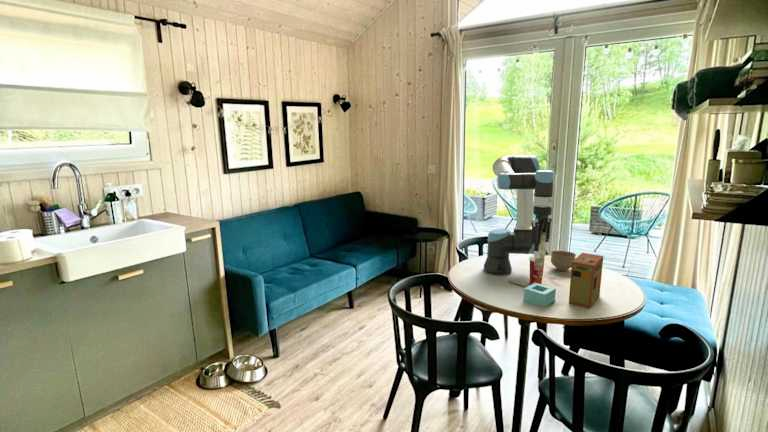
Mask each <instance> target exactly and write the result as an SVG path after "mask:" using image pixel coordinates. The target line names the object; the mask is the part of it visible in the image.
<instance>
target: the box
mask: <svg viewBox="0 0 768 432" xmlns="http://www.w3.org/2000/svg"><path fill="white" fill-rule="evenodd" d="M603 264H604V255H600V254H593V253H587V252H581V253H579V255H578V256H577V257H575V260H573V261H572V267H571V268H570V269H571V270H570V283H569V295H568V305H571V306H575V307H579V308H583V309H586V310H587V309H588V310H591V309H592V308H593V306H594V305H595V303H597V301H598V299H599V298H600V294H601V285H602V283H601V282H602V274H603Z"/></svg>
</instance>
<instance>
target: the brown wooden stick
mask: <svg viewBox="0 0 768 432" xmlns="http://www.w3.org/2000/svg"><path fill="white" fill-rule="evenodd" d="M507 282H508V283H509V284H513V285H515V286H519V287H522V288H526V287H528V286H529V285H526V284H522V283H519V282H514V281H511V280H508V281H507Z"/></svg>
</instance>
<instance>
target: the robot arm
mask: <svg viewBox="0 0 768 432" xmlns="http://www.w3.org/2000/svg"><path fill="white" fill-rule="evenodd" d="M492 172H493V173H494V175H495V176H496V177H497V178H496V185H497V189H499V190H505V191H507V190H516V226H515V227H514V228H513V232H512V231H511V229H508V228H497V229H493V230H490V231H489V233H488V234H487V235H488V236H487V252H486V253H487V255H486V256H487V257H486V259H485V262H484V264H483V272H485V273H487V274H490V275H492V276H506V275H510V274H511V273H513V272H512V270H513V268H512V264H511V261H510V254H519V255H521V254H523V255H534V258H539V259H540V253H541V244H540V240H541V234H542V231H543V232H546V238H545V255H544V258H545V257H546V256H547V253H546V252H547V243H549V242H550V238H551V237H550V236H551V224H552V220H553V219H552V218H551V217H550V216H551V215H552V209H553V207H552V205H553V201H554V200H553V193H554V180H555V177H554V175H555V173H554V171H553V170H548V169H545V170H544V169H541V168H540V161H539V158H538V157H537V156H536V155H534V154H532V155H531V154H516V155H515V154H514V155H513V154H512V155H510V154H507V155H504V156H501V157H498V158H497V159H496V160H495V161H494V163H493V164H492ZM534 215H535V218H534Z"/></svg>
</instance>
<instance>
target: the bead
mask: <svg viewBox="0 0 768 432" xmlns="http://www.w3.org/2000/svg"><path fill="white" fill-rule="evenodd" d="M527 286H528V287H523V301H524V302H527V303H529V304H530V303H531V304H532V305H535V306H539V307H543V308H545V307H547V306H549V305H550V304H552V303H554V302H555V301H556V290H557V289H556V287H552V286H549V285H545V284H542V283H541V284H538V283H534V284H529V285H527Z"/></svg>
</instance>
